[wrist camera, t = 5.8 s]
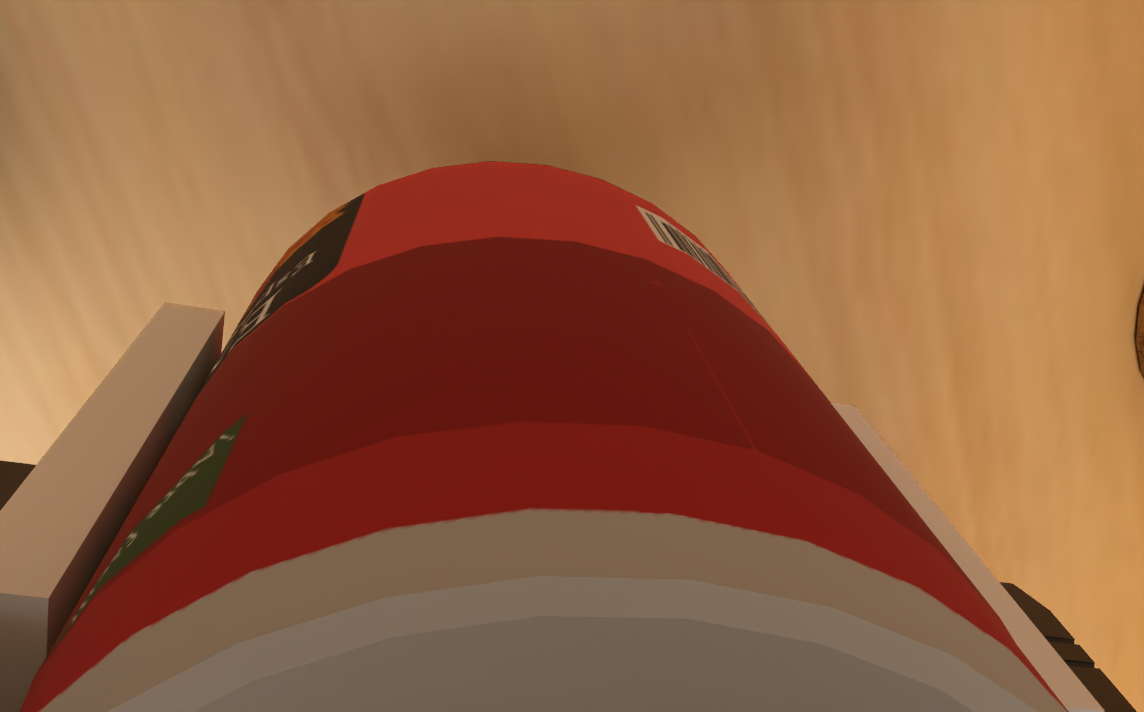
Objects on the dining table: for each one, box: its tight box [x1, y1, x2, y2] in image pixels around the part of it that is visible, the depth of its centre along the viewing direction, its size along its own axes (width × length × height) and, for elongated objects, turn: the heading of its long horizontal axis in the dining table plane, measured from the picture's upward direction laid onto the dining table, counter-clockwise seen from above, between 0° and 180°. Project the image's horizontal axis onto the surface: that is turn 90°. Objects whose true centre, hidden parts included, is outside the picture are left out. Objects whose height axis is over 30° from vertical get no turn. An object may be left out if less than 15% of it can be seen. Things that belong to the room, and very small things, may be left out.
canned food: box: [19, 161, 1068, 712], centre depth 12 cm, size 8×8×11 cm
